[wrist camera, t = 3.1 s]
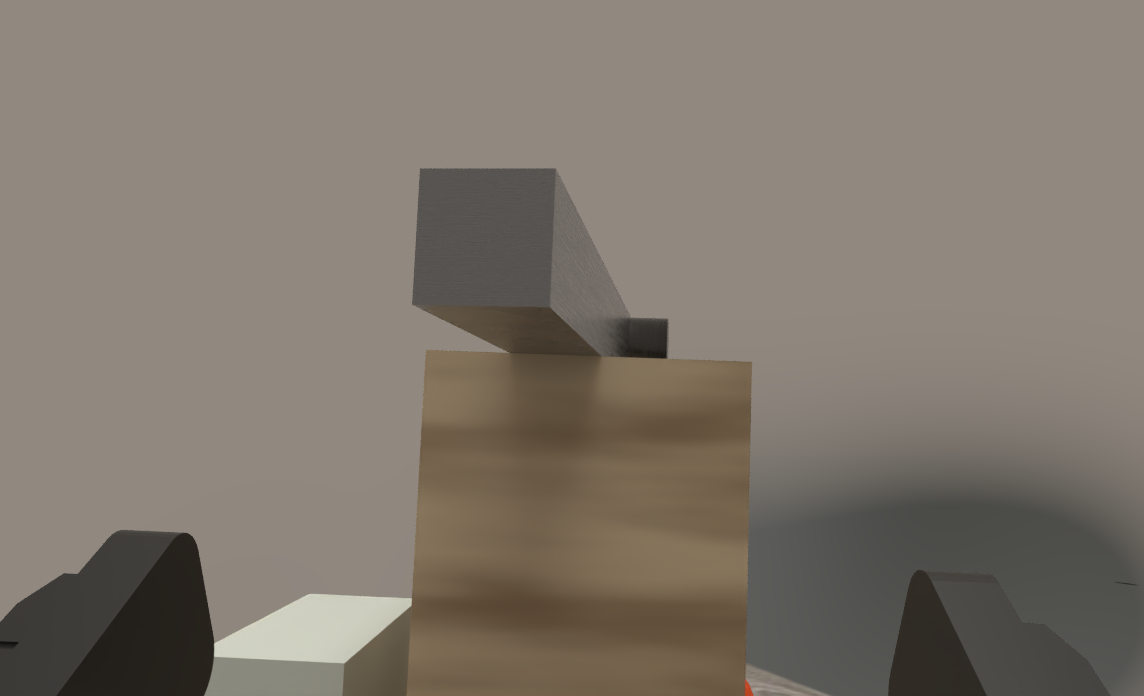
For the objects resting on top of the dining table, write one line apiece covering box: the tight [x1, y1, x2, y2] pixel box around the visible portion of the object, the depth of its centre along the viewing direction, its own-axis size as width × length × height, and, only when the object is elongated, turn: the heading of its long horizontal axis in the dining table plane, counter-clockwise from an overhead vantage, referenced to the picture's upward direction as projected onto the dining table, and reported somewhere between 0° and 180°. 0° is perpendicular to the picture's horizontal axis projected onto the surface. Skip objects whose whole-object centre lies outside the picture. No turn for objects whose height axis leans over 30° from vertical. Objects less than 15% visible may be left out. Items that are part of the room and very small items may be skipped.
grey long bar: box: [412, 169, 668, 359], centre depth 30 cm, size 24×6×3 cm, turn 172°
